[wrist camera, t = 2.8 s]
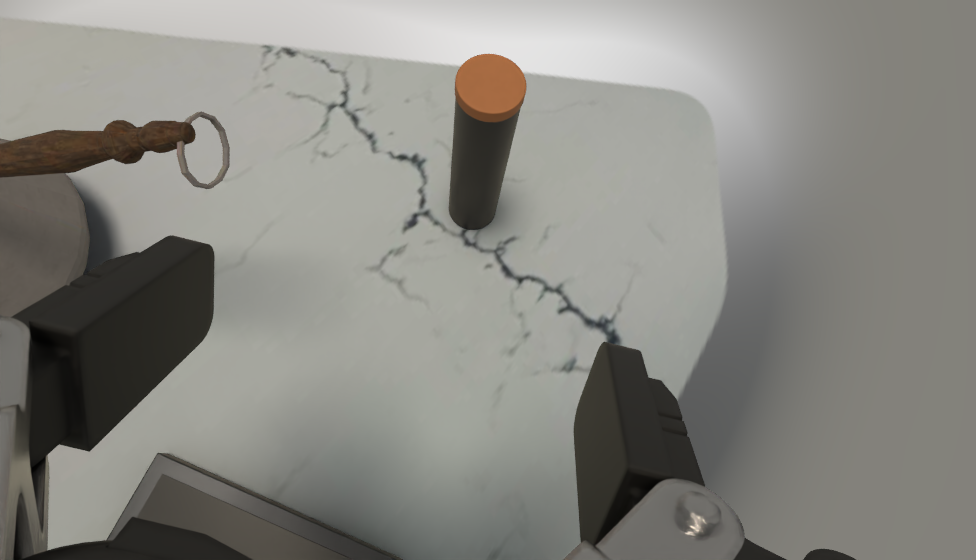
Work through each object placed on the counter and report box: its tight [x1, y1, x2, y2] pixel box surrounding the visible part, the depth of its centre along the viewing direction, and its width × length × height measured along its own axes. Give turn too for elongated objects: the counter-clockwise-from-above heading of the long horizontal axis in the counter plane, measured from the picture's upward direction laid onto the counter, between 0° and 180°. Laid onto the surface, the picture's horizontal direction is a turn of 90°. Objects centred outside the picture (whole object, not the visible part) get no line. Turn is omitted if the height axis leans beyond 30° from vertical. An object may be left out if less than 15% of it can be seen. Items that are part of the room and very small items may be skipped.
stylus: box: [449, 54, 526, 229], centre depth 27 cm, size 3×3×11 cm
